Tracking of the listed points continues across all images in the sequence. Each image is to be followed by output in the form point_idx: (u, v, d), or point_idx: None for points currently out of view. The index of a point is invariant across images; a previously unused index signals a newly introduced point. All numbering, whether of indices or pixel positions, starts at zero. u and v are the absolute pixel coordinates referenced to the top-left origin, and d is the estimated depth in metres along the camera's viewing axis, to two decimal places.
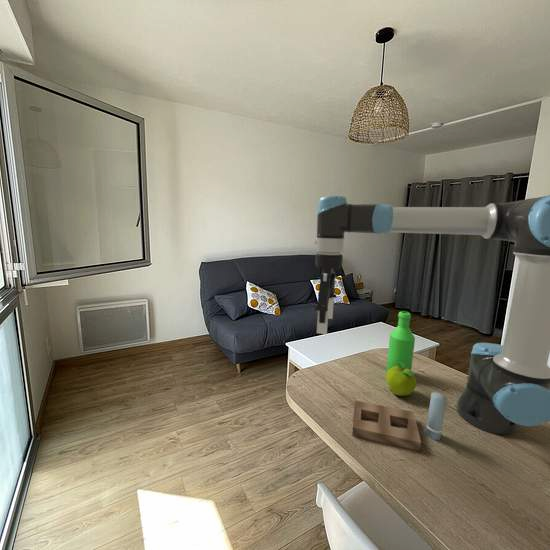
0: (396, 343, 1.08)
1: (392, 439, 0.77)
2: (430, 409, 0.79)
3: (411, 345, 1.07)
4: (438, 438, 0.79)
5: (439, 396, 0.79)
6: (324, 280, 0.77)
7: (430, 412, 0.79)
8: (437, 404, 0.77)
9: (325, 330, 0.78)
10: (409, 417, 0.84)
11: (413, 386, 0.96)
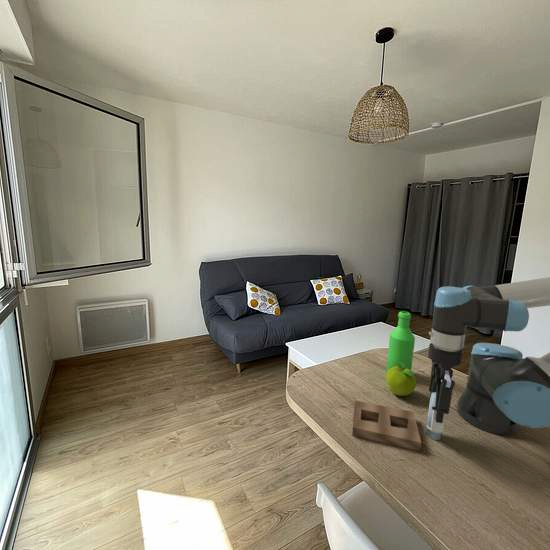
0: (396, 343, 1.08)
1: (392, 439, 0.77)
2: (430, 409, 0.79)
3: (411, 345, 1.07)
4: (438, 438, 0.79)
5: None
6: (447, 387, 0.72)
7: (430, 412, 0.79)
8: None
9: (441, 429, 0.77)
10: (409, 417, 0.84)
11: (413, 386, 0.96)
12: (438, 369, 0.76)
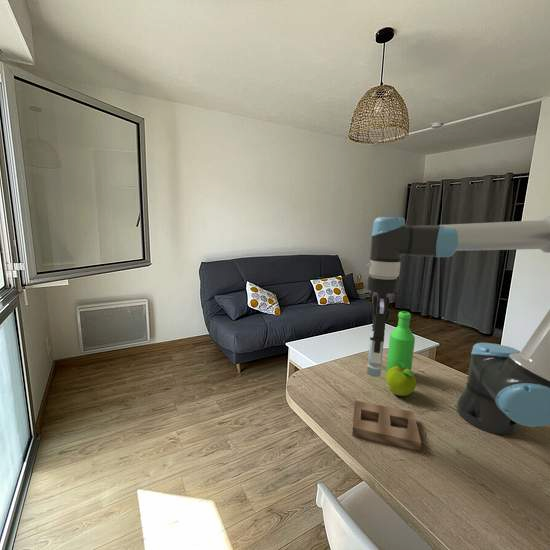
0: (396, 343, 1.08)
1: (392, 439, 0.77)
2: (369, 346, 0.80)
3: (411, 345, 1.07)
4: (377, 375, 0.80)
5: None
6: (381, 313, 0.73)
7: (369, 349, 0.80)
8: None
9: (379, 359, 0.78)
10: (409, 417, 0.84)
11: (413, 386, 0.96)
12: (375, 299, 0.77)
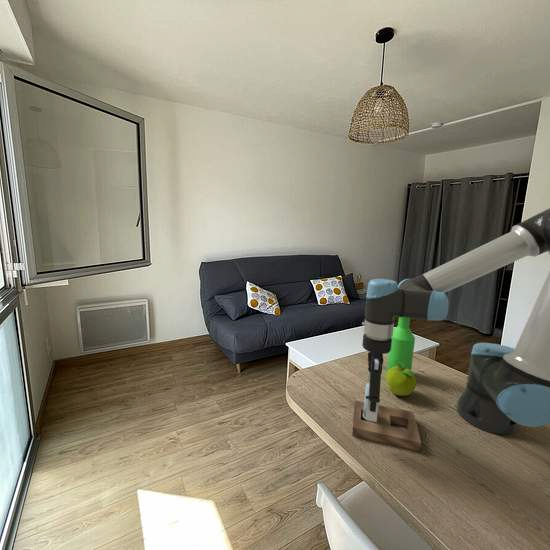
0: (396, 343, 1.08)
1: (392, 439, 0.77)
2: (365, 398, 0.83)
3: (411, 345, 1.07)
4: None
5: None
6: (375, 369, 0.75)
7: (365, 401, 0.83)
8: None
9: (375, 418, 0.77)
10: (409, 417, 0.84)
11: (413, 386, 0.96)
12: (370, 356, 0.80)
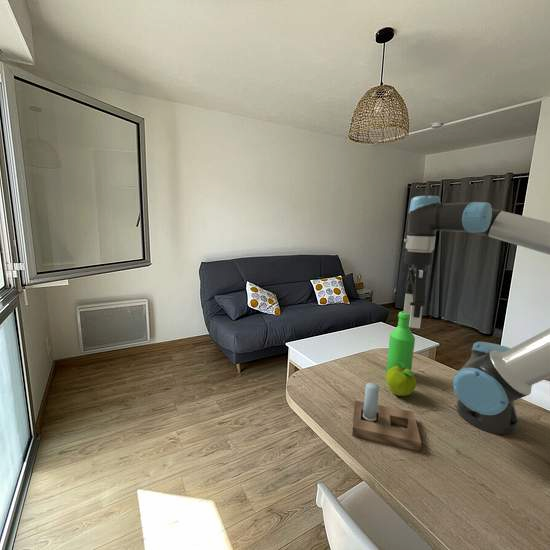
0: (396, 343, 1.08)
1: (392, 439, 0.77)
2: (365, 398, 0.83)
3: (411, 345, 1.07)
4: None
5: (372, 386, 0.83)
6: (420, 276, 0.80)
7: (365, 401, 0.83)
8: (370, 393, 0.81)
9: (418, 324, 0.82)
10: (409, 417, 0.84)
11: (413, 386, 0.96)
12: (412, 270, 0.85)
